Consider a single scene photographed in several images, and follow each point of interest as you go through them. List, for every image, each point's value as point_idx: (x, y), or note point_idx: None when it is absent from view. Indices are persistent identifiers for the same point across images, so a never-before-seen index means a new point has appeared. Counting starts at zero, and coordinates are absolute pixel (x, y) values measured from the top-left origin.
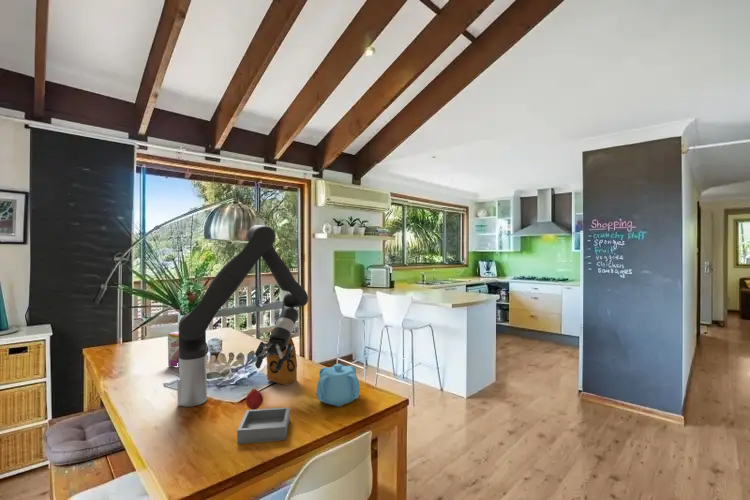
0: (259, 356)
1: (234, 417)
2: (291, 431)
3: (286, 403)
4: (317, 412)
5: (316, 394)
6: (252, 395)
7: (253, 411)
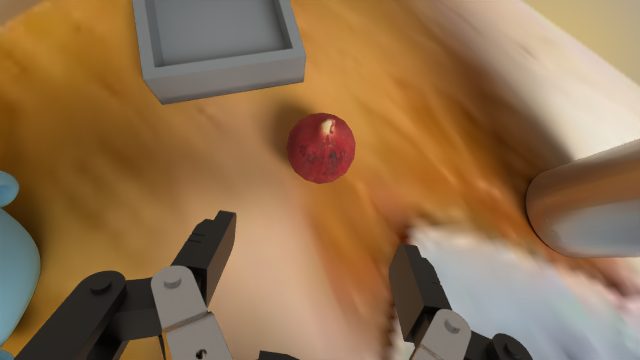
0: (444, 313)
1: (357, 109)
2: None
3: None
4: (56, 160)
5: (35, 252)
6: (321, 114)
7: (277, 52)
